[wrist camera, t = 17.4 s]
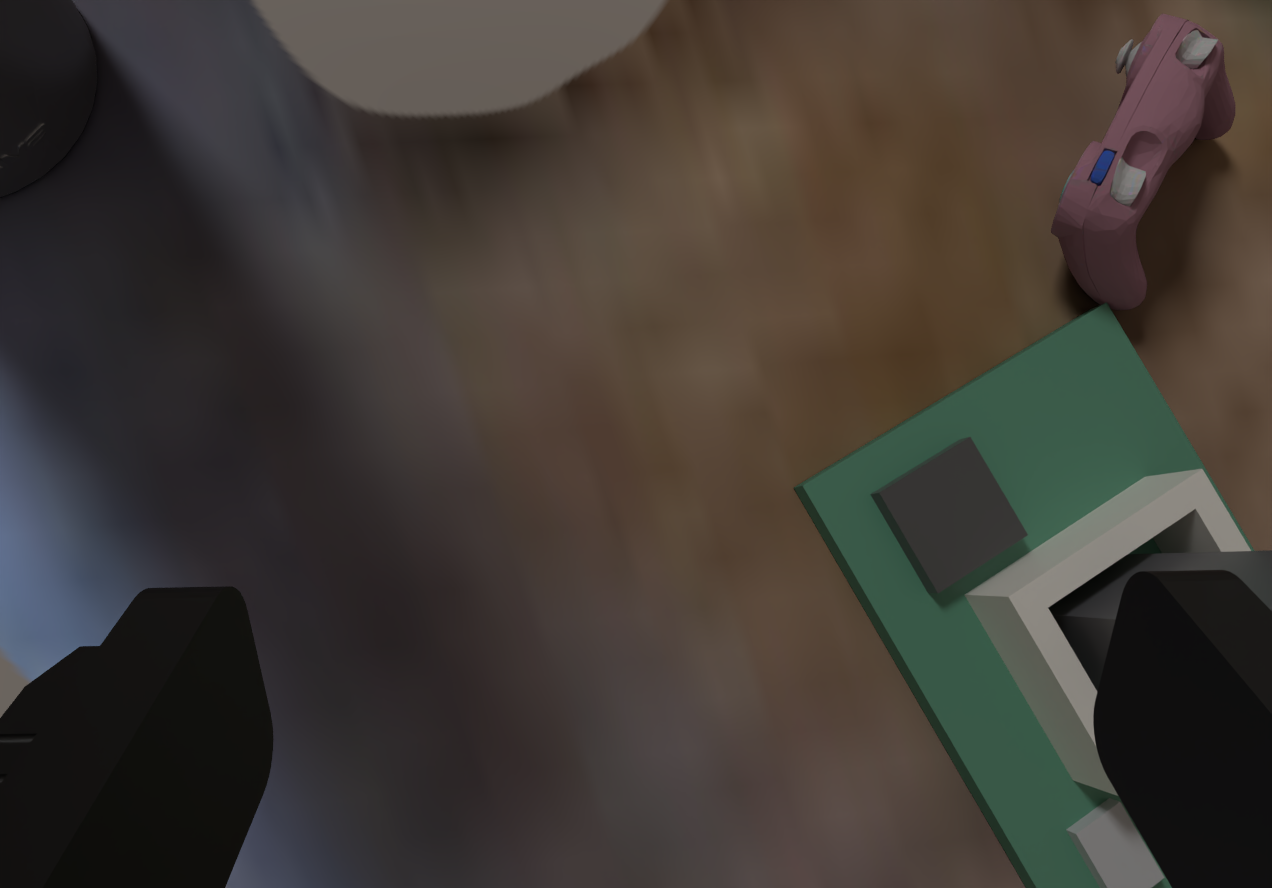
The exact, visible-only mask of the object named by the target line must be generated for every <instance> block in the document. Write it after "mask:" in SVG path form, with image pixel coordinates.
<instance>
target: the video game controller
mask: <svg viewBox="0 0 1272 888" xmlns="http://www.w3.org/2000/svg"><path fill="white" fill-rule="evenodd" d="M1132 46H1133V40H1130V41H1129V42H1128V43H1126V44H1125V46H1124V47H1122V48H1121V50H1120V52H1119V54H1118V56H1117V59H1116V62H1115V63H1116V72H1117V74H1119V73H1120V72H1121V71H1122V69H1123V67H1124V65H1125V66H1126V77H1127V81H1126V88H1125V91H1124V93H1123V96H1122V99H1121V102H1120V105H1119V108H1118V110H1117V113H1116V115H1115V117H1114V119H1113V121H1112V123H1111V125H1110V127H1109V129H1108V131H1107V133H1106V135H1105V137H1104V139H1103V141H1102V143H1099V142H1095V141H1093V142H1092V143H1091V144H1090V145H1089V146H1088V147H1087V149H1086V150H1085V152H1084V153H1083V155H1082V157H1081V158H1080V160H1079V162H1078V164H1077V166H1076V168H1075V170H1074V171H1073V172H1072V173H1071V175H1070V176H1069V178H1068V180H1067V182H1066V184H1065V186H1064V188H1063V191H1062V194H1061V197H1060V200H1059V206H1058V209H1057V212H1056V215H1055V218H1054V221H1053V224H1052V229H1051V233H1052V234H1053V235H1055V236H1057V237H1058V238H1059V242H1060V245H1061V248H1062V251H1063V254H1064V257H1065V259H1066V262H1067V264H1068V267H1069V269H1070V271H1071V273H1072V275H1073V276H1074V278H1075V279H1076V281H1077V283H1078V284H1079V286H1080V287H1081V288H1082V289H1083V290H1084V291H1085V292H1086V294H1087V295H1089V296H1090V297H1091V298H1092V299H1093V300H1094V301H1095V302H1097V303H1098V304H1100V305H1101V304H1104V303H1106V302H1107V304H1108V305H1109V307H1110V309H1113V310H1130V309H1132V308H1134V307H1136V306H1139V305H1140V304H1141V303H1142V301H1143V300H1144V299H1145V297H1146V290H1147V281H1146V277H1145V273H1144V270H1143V267H1142V264H1141V261H1140V258H1139V254H1138V250H1137V245H1136V230H1137V226H1138V223H1139V221H1140V219H1141V218H1142V216H1143V214H1144V213H1145V211H1146V210H1147V208H1148V206H1149V205H1150V203H1151V201H1152V200H1153V198H1154V197H1155V195H1156V193H1157V191H1158V189H1159V187H1160V185H1161V183H1162V181H1163V179H1164V177H1165V175H1166V173H1167V171H1168V169H1169V168H1170V166H1171V165H1172V164H1173V163H1174V162H1176V161H1177V160H1178V159H1179V158H1180V157H1181V156H1182V154H1183V153H1184V152H1185V151H1186V150H1187V148H1188V147H1189V146H1190V145H1191V144H1192V142H1193V140H1194V138H1196V139H1198V140H1210V139H1215V138H1218V137H1221V136H1222V135H1224V134H1225V133H1226V132H1228V131H1229V129H1230V128H1231V126H1232V123H1233V120H1234V117H1235V101H1234V97H1233V93H1232V90H1231V87H1230V84H1229V81H1228V78H1227V75H1226V72H1225V64H1224V48H1223V45H1222V43H1221V42H1220V41H1219V40H1218V39H1217V38H1216V37H1215V36H1213V35H1212V34H1211V33H1209V32H1208V31H1207V30H1205V29H1204V28H1202V27H1201V26H1199V25H1198V24H1195V23H1193V22H1190V21H1189V20H1185V19H1181V18H1178V17H1174V16H1170V15H1166V14H1161V15H1160V16H1159V17H1158V18H1157V20H1156V22H1155V23H1154V25H1153V27H1152V29H1151V31H1150V32H1149V33H1148V34H1147V36H1146V37H1145V38H1144V40H1143V41H1142V42H1141V43H1139V44H1138V45H1137V46H1136V47H1135V48H1134V49H1133V50H1131V49H1132Z"/></svg>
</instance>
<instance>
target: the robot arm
mask: <svg viewBox="0 0 1272 888" xmlns="http://www.w3.org/2000/svg"><path fill="white" fill-rule="evenodd" d="M97 81H98V79H97V64H96V52H95V49H94V46H93V43H92V39H91V36H90V33H89V30H88V27H87V25H86V23H85V22H84V20H83V18H82V17H81V15H80V13H79V11H78V10H77V8H76V6H75V4H74V3H73V1H72V0H0V197H2V196H5V195H8V194H11V193H14V192H16V191H18V190H20V189H21V188H23V187H25V186H27V185H28V184H30V183H32V182H34V181H35V180H37V179H39V178H41V177H42V176H43V175H45V174H46V173H47V172H48V171H49V170H50V169H51V168H52V167H54V166H55V165H56V164H57V163H58V162H59V161H60V160H62V159H63V158H64V157H65V156H66V154H67V153H68V152H69V150H70V149H71V147H72V146H73V145H74V143H75V142H76V141H77V139H78V138H79V137H80V135H81V134H82V132H83V129H84V127H85V125H86V123H87V120H88V118H89V116H90V113H91V111H92V109H93V104H94V98H95V93H96V87H97ZM1093 726H1094V736H1095V743H1096V747H1097V752H1098V755H1099V758H1100V762H1101V764H1102V767H1103V769H1104V771H1105V773H1106V775H1107V777H1108V779H1109V781H1110V782H1111V784H1112V786H1113V787H1114V789H1115V791H1116V793H1117V794H1118V796H1119V798H1120V799H1121V801H1122V803H1123V805H1124V806H1125V808H1126V810H1127V811H1128V813H1129V815H1130V817H1131V818H1132V820H1133V822H1134V823H1135V825H1136V827H1137V829H1138V830H1139V832H1140V834H1141V835H1142V837H1143V839H1144V841H1145V842H1146V844H1147V846H1148V847H1149V849H1150V851H1151V853H1152V854H1153V856H1154V858H1155V860H1156V861H1157V863H1158V865H1159V866H1160V868H1161V870H1162V872H1163V873H1164V875H1165V877H1166V878H1167V880H1168V882H1169V884H1170V885H1171V887H1172V888H1272V611H1271V610H1270V609H1269V608H1268V607H1267V606H1266V605H1265V604H1264V603H1263V602H1262V601H1261V600H1260V599H1259V597H1258V596H1257V595H1256V594H1255V593H1254V592H1253V591H1252V590H1251V589H1250V588H1249V587H1248V586H1247V585H1246V584H1245V583H1244V582H1243V581H1242V580H1241V579H1240V578H1239V577H1238V576H1236V575H1235V574H1233V573H1231V572H1230V571H1226V570H1189V571H1140V572H1137V573H1135V574H1134V575H1132V576H1131V577H1130V579H1129V580H1128V581H1127V583H1126V585H1125V587H1124V589H1123V593H1122V596H1121V600H1120V604H1119V608H1118V612H1117V616H1116V620H1115V624H1114V628H1113V632H1112V636H1111V640H1110V644H1109V648H1108V652H1107V656H1106V660H1105V664H1104V668H1103V672H1102V676H1101V680H1100V684H1099V688H1098V692H1097V696H1096V700H1095V705H1094V714H1093ZM272 752H273V726H272V719H271V713H270V709H269V704H268V700H267V695H266V691H265V687H264V682H263V678H262V673H261V669H260V664H259V660H258V656H257V651H256V647H255V642H254V638H253V633H252V629H251V625H250V620H249V616H248V611H247V608H246V604H245V601H244V599H243V597H242V595H241V593H240V592H239V591H238V590H237V589H236V588H234V587H184V588H147V589H145V590H143V591H141V592H140V593H139V594H138V595H137V596H136V597H135V598H134V600H133V601H132V602H131V604H130V605H129V607H128V608H127V609H126V611H125V612H124V614H123V615H122V616H121V618H120V619H119V621H118V622H117V623H116V625H115V626H114V627H113V629H112V630H111V632H110V633H109V634H108V636H107V637H106V639H105V640H104V641H103V643H102V644H101V645H100V646H83V647H79V648H77V649H76V650H75V651H73V652H72V653H71V654H69V655H68V656H66V657H65V658H64V659H62V660H61V661H60V662H58V663H57V664H55V665H54V666H53V667H51V668H50V669H49V670H47V671H46V672H45V673H43V674H42V675H40V676H39V677H38V678H36V679H35V680H34V681H32V682H31V683H29V684H28V685H27V686H25V687H24V689H23V690H22V691H21V692H20V694H19V695H18V696H17V698H16V699H15V700H14V701H13V703H12V704H11V705H10V706H9V708H8V709H7V710H6V712H5V713H4V714H3V716H2V717H1V718H0V888H225V886H226V884H227V881H228V879H229V876H230V874H231V872H232V869H233V867H234V864H235V862H236V859H237V857H238V854H239V852H240V850H241V847H242V845H243V842H244V840H245V837H246V835H247V832H248V830H249V828H250V825H251V823H252V820H253V818H254V815H255V813H256V810H257V808H258V806H259V803H260V801H261V798H262V796H263V793H264V791H265V788H266V785H267V781H268V778H269V773H270V768H271V761H272Z"/></svg>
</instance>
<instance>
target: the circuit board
mask: <svg viewBox="0 0 1272 888" xmlns="http://www.w3.org/2000/svg"><path fill="white" fill-rule="evenodd" d="M794 490H795V491H796V493H797V495H798V496H799V498H800V500H801V502H802V503H803V505H804V507H805V508H806V510H807V512H808V514H809V515H810V517H811V519H812V520H813V522H814V524H815V526H816V527H817V529H818V531H819V533H820V534H821V536H822V538H823V539H824V541H825V543H826V545H827V546H828V548H829V550H830V551H831V553H832V555H833V557H834V558H835V560H836V562H837V563H838V565H839V567H840V569H841V570H842V572H843V574H844V576H845V577H846V579H847V581H848V582H849V584H850V586H851V588H852V589H853V591H854V593H855V594H856V596H857V598H858V600H859V601H860V603H861V605H862V606H863V608H864V610H865V612H866V613H867V615H868V617H869V619H870V620H871V622H872V624H873V625H874V627H875V629H876V631H877V632H878V634H879V636H880V637H881V639H882V641H883V643H884V644H885V646H886V648H887V649H888V651H889V653H890V655H891V656H892V658H893V660H894V662H895V663H896V665H897V667H898V668H899V670H900V672H901V674H902V675H903V677H904V679H905V680H906V682H907V684H908V686H909V687H910V689H911V691H912V692H913V694H914V696H915V698H916V699H917V701H918V703H919V705H920V706H921V708H922V710H923V711H924V713H925V715H926V717H927V718H928V720H929V722H930V723H931V725H932V727H933V729H934V730H935V732H936V734H937V736H938V737H939V739H940V741H941V742H942V744H943V746H944V748H945V749H946V751H947V753H948V754H949V756H950V758H951V760H952V761H953V763H954V765H955V766H956V768H957V770H958V772H959V773H960V775H961V777H962V779H963V780H964V782H965V784H966V785H967V787H968V789H969V791H970V792H971V794H972V796H973V797H974V799H975V801H976V803H977V804H978V806H979V808H980V809H981V811H982V813H983V815H984V816H985V818H986V820H987V822H988V823H989V825H990V827H991V828H992V830H993V832H994V834H995V835H996V837H997V839H998V840H999V842H1000V844H1001V846H1002V847H1003V849H1004V851H1005V852H1006V854H1007V856H1008V858H1009V859H1010V861H1011V863H1012V865H1013V866H1014V868H1015V870H1016V871H1017V873H1018V875H1019V877H1020V878H1021V880H1022V882H1023V883H1024V885H1025V887H1026V888H1172V887H1171V885H1170V884H1169V882H1168V880H1167V878H1166V877H1165V875H1164V873H1163V872H1162V870H1161V868H1160V866H1159V865H1158V863H1157V861H1156V860H1155V858H1154V856H1153V854H1152V853H1151V851H1150V849H1149V847H1148V846H1147V844H1146V842H1145V841H1144V839H1143V837H1142V835H1141V834H1140V832H1139V830H1138V829H1137V827H1136V825H1135V823H1134V822H1133V820H1132V818H1131V817H1130V815H1129V813H1128V811H1127V810H1126V808H1125V806H1124V805H1123V803H1122V801H1121V799H1120V798H1119V796H1118V794H1117V793H1116V791H1115V789H1114V787H1113V786H1112V784H1111V782H1110V781H1109V779H1108V777H1107V775H1106V773H1105V771H1104V769H1103V767H1102V764H1101V762H1100V758H1099V755H1098V752H1097V747H1096V743H1095V736H1094V726H1093V714H1094V705H1095V700H1096V696H1097V690H1096V689H1095V687H1094V685H1093V684H1092V682H1091V680H1090V678H1089V677H1088V675H1087V673H1086V672H1085V670H1084V668H1083V667H1082V665H1081V663H1080V661H1079V660H1078V658H1077V656H1076V655H1075V653H1074V651H1073V649H1072V648H1071V646H1070V644H1069V643H1068V641H1067V639H1066V638H1065V636H1064V634H1063V632H1062V631H1061V629H1060V627H1059V626H1058V624H1057V622H1056V621H1055V619H1054V617H1053V615H1052V614H1051V612H1050V610H1049V609H1048V607H1050V606H1051V605H1053V604H1054V603H1056V602H1057V601H1059V600H1060V599H1062V598H1063V597H1065V596H1066V595H1068V594H1069V593H1071V592H1072V591H1074V590H1075V589H1077V588H1078V587H1080V586H1081V585H1083V584H1084V583H1086V582H1087V581H1089V580H1090V579H1091V578H1093V577H1094V576H1096V575H1097V574H1099V573H1100V572H1102V571H1103V570H1105V569H1106V568H1108V567H1109V566H1111V565H1112V564H1114V563H1115V562H1117V561H1118V560H1120V559H1121V558H1123V557H1124V556H1126V555H1127V554H1157V553H1196V552H1234V551H1254V549H1253V548H1252V546H1251V544H1250V542H1249V541H1248V539H1247V537H1246V536H1245V534H1244V532H1243V531H1242V529H1241V527H1240V526H1239V524H1238V522H1237V521H1236V519H1235V517H1234V516H1233V514H1232V512H1231V511H1230V509H1229V507H1228V506H1227V504H1226V502H1225V500H1224V499H1223V497H1222V495H1221V494H1220V492H1219V490H1218V489H1217V487H1216V485H1215V484H1214V482H1213V480H1212V479H1211V477H1210V475H1209V474H1208V472H1207V470H1206V469H1205V467H1204V465H1203V463H1202V462H1201V460H1200V458H1199V457H1198V455H1197V453H1196V452H1195V450H1194V448H1193V447H1192V445H1191V443H1190V442H1189V440H1188V438H1187V437H1186V435H1185V433H1184V432H1183V430H1182V428H1181V426H1180V425H1179V423H1178V421H1177V420H1176V418H1175V416H1174V415H1173V413H1172V411H1171V410H1170V408H1169V406H1168V405H1167V403H1166V401H1165V400H1164V398H1163V396H1162V395H1161V393H1160V391H1159V390H1158V388H1157V386H1156V384H1155V383H1154V381H1153V379H1152V378H1151V376H1150V374H1149V373H1148V371H1147V369H1146V368H1145V366H1144V364H1143V363H1142V361H1141V359H1140V358H1139V356H1138V354H1137V353H1136V351H1135V349H1134V347H1133V346H1132V344H1131V342H1130V341H1129V339H1128V337H1127V336H1126V334H1125V332H1124V331H1123V329H1122V327H1121V326H1120V324H1119V322H1118V321H1117V319H1116V317H1115V316H1114V314H1113V312H1112V311H1111V309H1110V307H1109V305H1108V304H1107V302H1106V303H1104V304H1101V305H1099V306H1097V307H1094V308H1092V309H1090V310H1088V311H1087V312H1085V313H1083V314H1082V315H1080V316H1078V317H1077V318H1075V319H1073V320H1072V321H1070V322H1068V323H1067V324H1065V325H1063V326H1062V327H1060V328H1058V329H1057V330H1055V331H1053V332H1052V333H1050V334H1048V335H1047V336H1045V337H1043V338H1042V339H1040V340H1038V341H1037V342H1035V343H1033V344H1032V345H1030V346H1028V347H1027V348H1025V349H1023V350H1022V351H1020V352H1018V353H1017V354H1015V355H1013V356H1012V357H1010V358H1008V359H1007V360H1005V361H1003V362H1002V363H1000V364H998V365H997V366H995V367H993V368H992V369H990V370H988V371H987V372H985V373H984V374H982V375H980V376H979V377H977V378H975V379H974V380H972V381H970V382H969V383H967V384H965V385H964V386H962V387H960V388H959V389H957V390H955V391H954V392H952V393H950V394H949V395H947V396H945V397H944V398H942V399H940V400H939V401H937V402H935V403H934V404H932V405H930V406H929V407H927V408H925V409H924V410H922V411H920V412H919V413H917V414H915V415H914V416H912V417H910V418H909V419H907V420H905V421H904V422H902V423H900V424H899V425H897V426H895V427H894V428H892V429H890V430H889V431H887V432H885V433H884V434H882V435H880V436H879V437H877V438H875V439H874V440H872V441H870V442H869V443H867V444H865V445H864V446H862V447H860V448H859V449H857V450H856V451H854V452H852V453H851V454H849V455H847V456H846V457H844V458H842V459H841V460H839V461H837V462H836V463H834V464H832V465H831V466H829V467H827V468H826V469H824V470H822V471H821V472H819V473H817V474H816V475H814V476H812V477H811V478H809V479H807V480H806V481H804V482H802V483H801V484H799V485H797V486H796V487H794Z"/></svg>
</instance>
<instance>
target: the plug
mask: <svg viewBox="0 0 1272 888" xmlns="http://www.w3.org/2000/svg"><path fill="white" fill-rule="evenodd" d="M1189 570H1226V571H1230V572H1231V573H1233V574H1235V575H1236V576H1238V577H1239V578H1240V579H1241V580H1242V581H1243V582H1244V583H1245V584H1246V585H1247V586H1248V587H1249V588H1250V589H1251V590H1252V591H1253V592H1254V593H1255V594H1256V595H1257V596H1258V597H1259V599H1260V600H1261V601H1262V602H1263V603H1264V604H1265V605H1266V606H1267V607H1268V608H1269V609H1270V610H1271V611H1272V551H1234V552H1196V553H1157V554H1127V555H1126V556H1124V557H1123V558H1121V559H1120V560H1118V561H1117V562H1115V563H1114V564H1112V565H1111V566H1109V567H1108V568H1106V569H1105V570H1103V571H1102V572H1100V573H1099V574H1097V575H1096V576H1094V577H1093V578H1091V579H1090V580H1089V581H1087V582H1086V583H1084V584H1083V585H1081V586H1080V587H1078V588H1077V589H1075V590H1074V591H1072V592H1071V593H1069V594H1068V595H1066V596H1065V597H1063V598H1062V599H1060V600H1059V601H1057V602H1056V603H1054V604H1053V605H1051V606H1050V607H1048V609H1049V610H1050V612H1051V614H1052V615H1053V617H1054V619H1055V621H1056V622H1057V624H1058V626H1059V627H1060V629H1061V631H1062V632H1063V634H1064V636H1065V638H1066V639H1067V641H1068V643H1069V644H1070V646H1071V648H1072V649H1073V651H1074V653H1075V655H1076V656H1077V658H1078V660H1079V661H1080V663H1081V665H1082V667H1083V668H1084V670H1085V672H1086V673H1087V675H1088V677H1089V678H1090V680H1091V682H1092V684H1093V685H1094V687H1095V689H1096V690H1097V692H1098V688H1099V684H1100V680H1101V676H1102V672H1103V668H1104V664H1105V660H1106V656H1107V652H1108V648H1109V644H1110V640H1111V636H1112V632H1113V628H1114V624H1115V620H1116V616H1117V612H1118V608H1119V604H1120V600H1121V596H1122V593H1123V589H1124V587H1125V585H1126V583H1127V581H1128V580H1129V579H1130V577H1131V576H1132V575H1134V574H1135V573H1137V572H1140V571H1189Z"/></svg>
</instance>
